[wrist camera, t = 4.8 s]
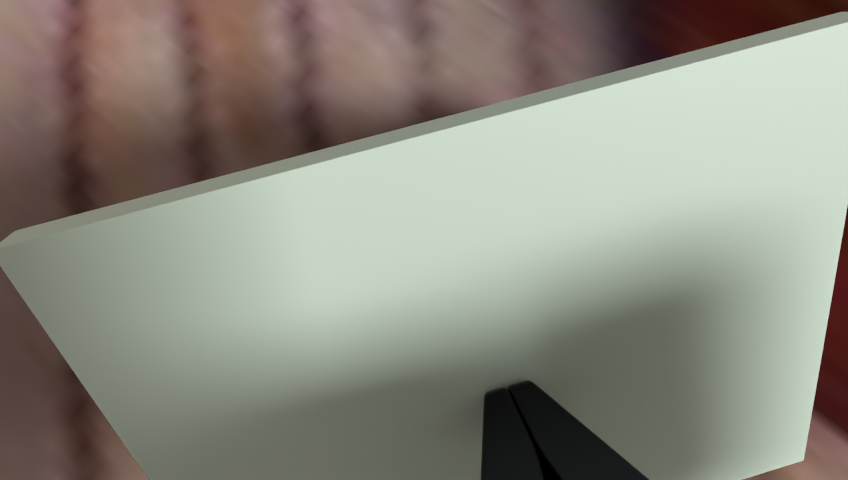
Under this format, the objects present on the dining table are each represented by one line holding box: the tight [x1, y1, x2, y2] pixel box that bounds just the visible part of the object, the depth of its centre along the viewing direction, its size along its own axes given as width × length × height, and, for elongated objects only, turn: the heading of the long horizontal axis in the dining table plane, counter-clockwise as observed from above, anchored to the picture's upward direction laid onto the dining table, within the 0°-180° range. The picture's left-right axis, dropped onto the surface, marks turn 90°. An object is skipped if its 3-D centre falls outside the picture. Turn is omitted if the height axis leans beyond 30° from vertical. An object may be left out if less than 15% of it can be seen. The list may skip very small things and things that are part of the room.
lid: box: [0, 12, 848, 480], centre depth 9 cm, size 9×12×1 cm
